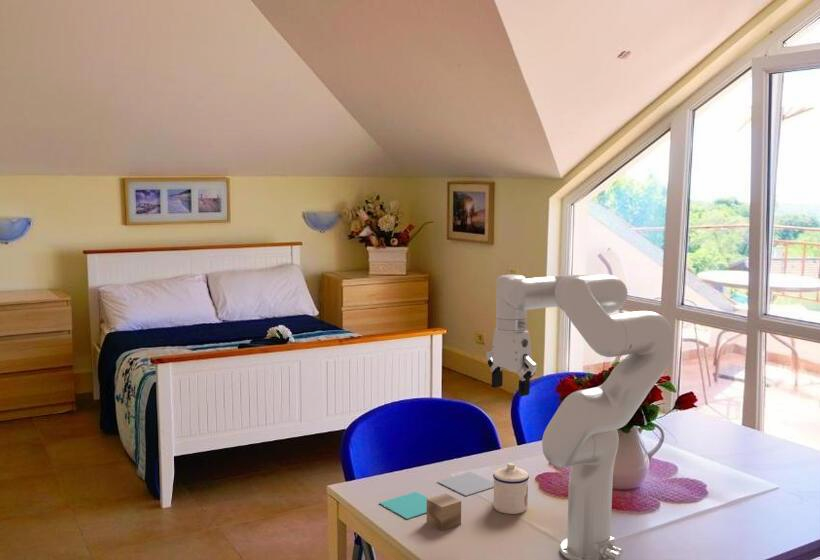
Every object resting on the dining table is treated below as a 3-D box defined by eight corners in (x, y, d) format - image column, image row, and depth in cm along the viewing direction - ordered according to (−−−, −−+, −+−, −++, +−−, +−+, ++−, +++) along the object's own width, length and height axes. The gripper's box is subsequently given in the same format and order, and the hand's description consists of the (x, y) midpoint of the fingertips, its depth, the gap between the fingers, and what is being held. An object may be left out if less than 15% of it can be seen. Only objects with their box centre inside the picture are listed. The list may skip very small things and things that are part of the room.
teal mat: (444, 507, 214) (444, 506, 214) (407, 519, 206) (407, 518, 206) (415, 492, 223) (415, 491, 223) (379, 503, 216) (379, 502, 216)
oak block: (461, 524, 204) (461, 501, 203) (441, 531, 200) (442, 507, 200) (445, 516, 209) (445, 493, 208) (426, 522, 205) (426, 499, 204)
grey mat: (499, 485, 228) (499, 484, 228) (465, 496, 221) (465, 495, 221) (470, 472, 237) (470, 471, 237) (437, 482, 230) (437, 481, 230)
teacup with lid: (533, 513, 210) (534, 469, 208) (498, 516, 208) (499, 471, 207) (518, 494, 222) (518, 452, 220) (485, 497, 220) (485, 455, 218)
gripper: (547, 328, 204) (545, 396, 206) (498, 317, 217) (497, 381, 220) (525, 331, 199) (523, 401, 201) (476, 320, 213) (476, 386, 215)
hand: (510, 391), depth 211 cm, fingers open, 9 cm apart
